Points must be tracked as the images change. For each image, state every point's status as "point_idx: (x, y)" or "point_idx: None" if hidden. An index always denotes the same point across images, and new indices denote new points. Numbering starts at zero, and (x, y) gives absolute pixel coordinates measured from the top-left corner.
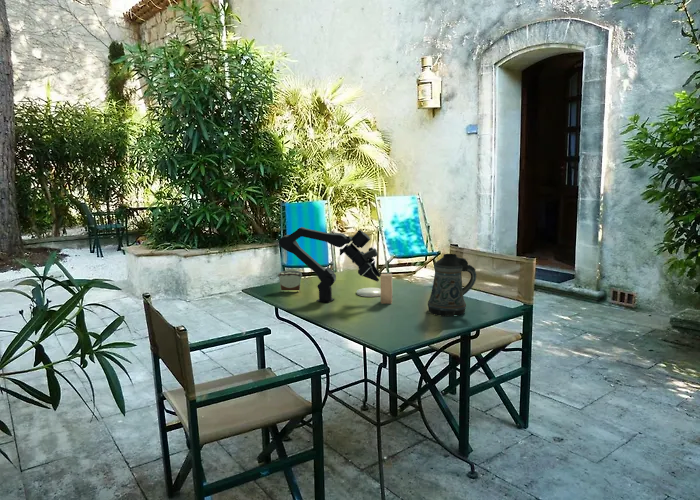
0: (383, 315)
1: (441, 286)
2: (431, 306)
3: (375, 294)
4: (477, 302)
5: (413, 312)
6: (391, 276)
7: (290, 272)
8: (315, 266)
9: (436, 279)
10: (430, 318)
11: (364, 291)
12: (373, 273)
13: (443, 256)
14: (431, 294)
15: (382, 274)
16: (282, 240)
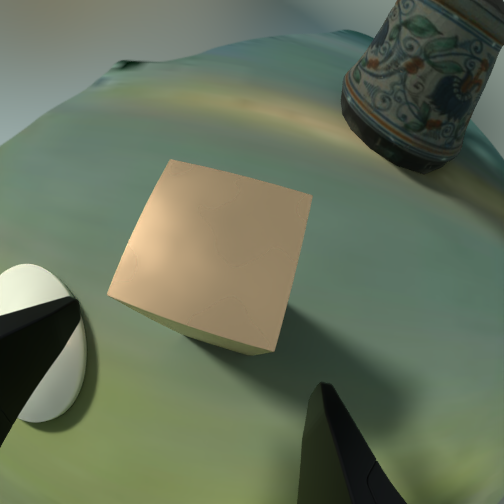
0: (459, 361)
1: (485, 85)
2: (449, 157)
3: (79, 343)
4: (293, 42)
5: (425, 225)
6: (309, 200)
7: None
8: None
9: (485, 67)
10: (472, 197)
11: None
12: (387, 483)
13: None
14: (444, 118)
15: (177, 298)
16: None
